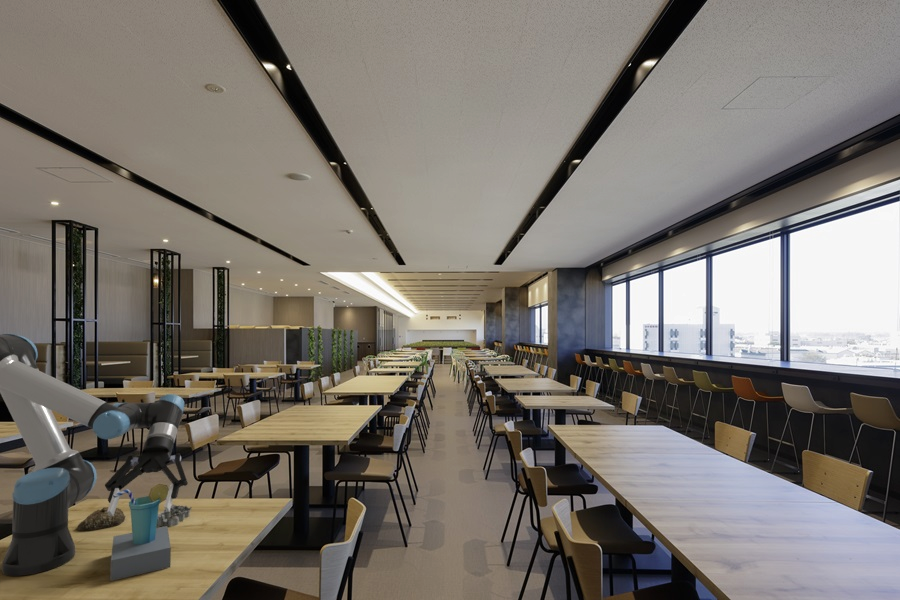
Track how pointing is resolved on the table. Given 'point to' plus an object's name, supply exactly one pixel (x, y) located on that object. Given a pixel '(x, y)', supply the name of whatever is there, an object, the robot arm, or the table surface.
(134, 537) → the cup
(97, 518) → the bread roll
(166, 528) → the slate block
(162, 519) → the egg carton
